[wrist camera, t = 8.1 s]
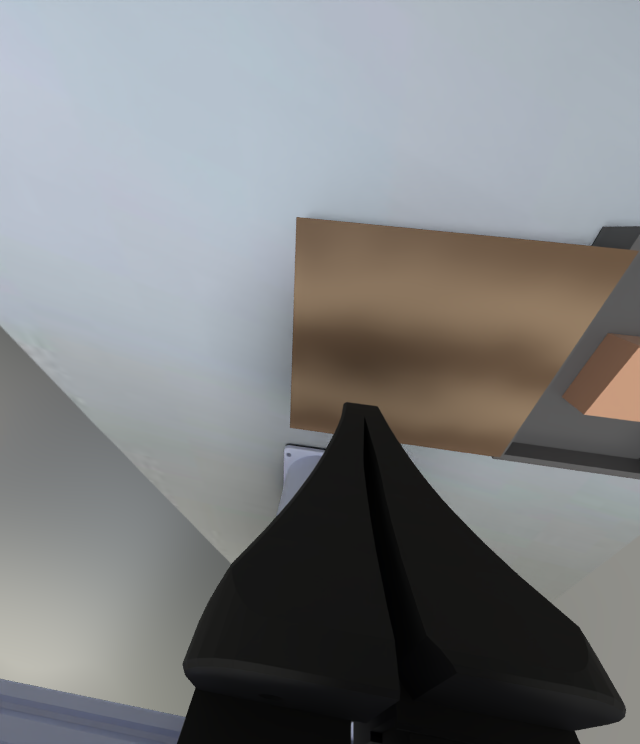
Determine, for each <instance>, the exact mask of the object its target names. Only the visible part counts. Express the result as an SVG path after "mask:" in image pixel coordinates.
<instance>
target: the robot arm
mask: <svg viewBox="0 0 640 744" xmlns="http://www.w3.org/2000/svg"><path fill="white" fill-rule="evenodd" d="M289 453H290V454H289ZM183 669H184V673H185V675H186V677H187V678H188V679H189V680H190V681H191V682H192V684H193V685H194V686H195V687H196V688H195V691H194V694H193V697H192V701H191V703H190V706H189V709H188V712H187V715H186V717H183V716H178V715H173V714H169V713H164V712H159V711H154V710H149V709H144V708H140V707H135V706H130V705H125V704H120V703H115V702H110V701H106V700H101V699H96V698H91V697H86V696H81V695H76V694H72V693H67V692H62V691H57V690H52V689H47V688H42V687H38V686H33V685H28V684H23V683H18V682H13V681H9V680H4V679H0V744H580V742H579V740H578V738H577V735H576V733H575V730H581V729H586V728H591V727H597V726H603V725H608V724H612V723H615V722H619V721H620V720H622V719H623V718H624V717H625V713H626V709H625V705H624V703H623V701H622V699H621V697H620V696H619V694H618V692H617V691H616V689H615V687H614V685H613V683H612V682H611V680H610V678H609V677H608V675H607V673H606V671H605V670H604V668H603V666H602V664H601V663H600V661H599V659H598V657H597V656H596V654H595V652H594V651H593V649H592V647H591V646H590V644H589V642H588V641H587V639H586V637H585V636H584V634H583V633H582V631H581V629H580V628H579V627H578V626H577V625H576V624H575V623H574V622H573V621H571V620H570V619H569V618H568V617H567V616H565V615H564V614H563V613H562V612H561V611H560V610H559V609H557V608H556V607H555V606H554V605H553V604H552V603H550V602H549V601H548V600H547V599H546V598H545V597H543V596H542V595H541V594H540V593H539V592H538V591H536V590H535V589H534V588H533V587H532V586H531V585H529V584H528V583H527V582H526V581H525V580H524V579H522V578H521V577H520V576H519V575H518V574H517V573H516V572H515V571H514V570H512V569H511V568H510V567H509V566H508V565H507V564H506V563H505V562H504V561H503V560H502V559H501V558H500V557H499V556H497V555H496V554H495V553H494V552H493V551H492V550H491V549H490V548H489V547H488V546H487V545H486V544H485V543H484V542H483V541H482V540H481V539H480V538H479V537H478V536H477V535H476V534H475V533H474V532H473V531H472V530H471V529H470V528H469V527H468V526H467V525H466V524H465V523H464V522H463V521H462V520H461V519H460V518H459V517H458V516H457V515H456V514H455V513H454V512H453V511H452V510H451V508H450V507H449V506H448V505H447V504H446V503H445V502H444V501H443V500H442V499H441V497H440V496H439V495H438V494H437V493H436V491H435V490H434V489H433V488H432V487H431V485H430V484H429V483H428V482H427V480H426V479H425V478H424V477H423V475H422V474H421V473H420V471H419V470H418V469H417V467H416V466H415V465H414V463H413V462H412V461H411V459H410V458H409V456H408V455H407V453H406V452H405V451H404V449H403V447H402V446H401V444H400V443H399V441H398V440H397V438H396V437H395V435H394V433H393V432H392V430H391V428H390V427H389V425H388V423H387V422H386V420H385V418H384V416H383V414H382V413H381V411H380V409H379V408H378V406H373V405H365V404H358V403H350V402H346V403H344V404H343V409H342V415H341V418H340V421H339V424H338V426H337V428H336V430H335V433H334V435H333V437H332V439H331V441H330V443H329V444H328V446H327V448H326V450H320V449H313V448H306V447H299V446H292V445H287V446H285V449H284V488H283V492H282V496H281V499H280V503H279V507H278V511H277V515H276V518H275V519H274V520H273V521H272V522H271V523H270V525H269V526H268V527H267V528H266V529H265V530H264V531H263V532H262V533H261V534H260V535H259V536H258V537H257V538H256V539H255V540H254V541H253V542H252V543H251V544H250V545H249V546H248V547H247V548H246V550H245V551H244V552H243V553H242V554H241V555H240V556H239V557H238V558H237V559H236V560H235V561H234V562H233V563H232V564H231V565H230V567H229V569H228V570H227V572H226V573H225V575H224V577H223V578H222V580H221V581H220V583H219V585H218V586H217V588H216V590H215V592H214V593H213V595H212V597H211V598H210V600H209V602H208V604H207V606H206V608H205V610H204V612H203V614H202V617H201V619H200V620H199V623H198V625H197V628H196V630H195V633H194V636H193V639H192V641H191V643H190V646H189V648H188V651H187V654H186V656H185V659H184V661H183Z"/></svg>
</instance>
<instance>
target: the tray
mask: <svg viewBox="0 0 640 744" xmlns="http://www.w3.org/2000/svg"><path fill="white" fill-rule="evenodd" d="M592 246H596V247H606V248H616V249H627V250H637V251H639V252H638V254H637V255H636V257H635V258H634V259H633V261H632V262H631V264H630V265H629V267H628V268H627V270H626V271H625V273H624V274H623V276H622V277H621V279H620V280H619V282H618V283H617V285H616V286H615V288H614V289H613V291H612V292H611V294H610V295H609V297H608V298H607V299H606V301H605V302H604V304H603V305H602V307H601V308H600V310H599V311H598V313H597V314H596V316H595V317H594V319H593V320H592V322H591V323H590V325H589V326H588V328H587V329H586V331H585V332H584V334H583V335H582V337H581V338H580V339H579V341H578V342H577V344H576V345H575V347H574V348H573V350H572V351H571V353H570V354H569V356H568V357H567V359H566V360H565V362H564V363H563V365H562V366H561V368H560V369H559V371H558V372H557V374H556V375H555V376H554V378H553V379H552V381H551V382H550V384H549V385H548V387H547V388H546V390H545V391H544V393H543V394H542V396H541V397H540V399H539V400H538V402H537V403H536V405H535V406H534V408H533V409H532V411H531V412H530V414H529V415H528V416H527V418H526V419H525V421H524V422H523V424H522V425H521V427H520V428H519V430H518V431H517V433H516V434H515V436H514V437H513V439H512V440H511V442H510V443H509V445H508V446H507V448H506V449H505V451H504V452H503V454H502V455H501V456H500V457H493V456H492V458H493V459H500V460H507V461H514V462H521V463H528V464H535V465H542V466H549V467H556V468H563V469H570V470H577V471H584V472H591V473H598V474H605V475H612V476H619V477H626V478H633V479H640V422H637V421H629V420H622V419H614V418H606V417H598V416H591V415H584V414H583V413H581V412H580V411H579V410H577V409H576V408H575V407H574V406H572V405H571V404H570V403H569V402H567V401H566V400H565V399H564V398H562V396H563V394H564V393H565V392H566V390H567V389H568V388H569V386H570V385H571V383H572V382H573V381H574V379H575V378H576V377H577V375H578V374H579V372H580V371H581V370H582V368H583V367H584V366H585V364H586V363H587V361H588V360H589V359H590V357H591V356H592V355H593V353H594V352H595V350H596V349H597V348H598V346H599V345H600V344H601V342H602V341H603V339H604V338H605V337H606V335H607V334H608V333H612V334H621V335H630V336H638V337H640V226H634V227H603V228H602V230H601V231H600V233H599V235H598V237H597V238H596V240H595V242H594V243H593V245H592Z"/></svg>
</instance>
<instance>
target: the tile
mask: <svg viewBox="0 0 640 744" xmlns="http://www.w3.org/2000/svg"><path fill="white" fill-rule="evenodd" d="M562 398H564V399H565V400H566V401H567V402H569V403H570V404H571V405H572V406H574V407H575V408H576V409H577V410H579V411H580V412H581V413H583V414H584V415H591V416H598V417H606V418H614V419H622V420H629V421H637V422H640V337H638V336H630V335H621V334H612V333H608V334H607V335H606V337H605V338H604V339H603V341H602V342H601V344H600V345H599V346H598V348H597V349H596V350H595V352H594V353H593V355H592V356H591V357H590V359H589V360H588V361H587V363H586V364H585V366H584V367H583V368H582V370H581V371H580V372H579V374H578V375H577V377H576V378H575V379H574V381H573V382H572V383H571V385H570V386H569V388H568V389H567V390H566V392H565V393H564V394H563V396H562Z"/></svg>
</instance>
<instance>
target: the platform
mask: <svg viewBox="0 0 640 744" xmlns="http://www.w3.org/2000/svg"><path fill="white" fill-rule="evenodd" d="M638 252H639V251H637V250H627V249H616V248H606V247H596V246H586V245H576V244H565V243H555V242H545V241H535V240H525V239H514V238H504V237H494V236H484V235H474V234H463V233H453V232H443V231H433V230H423V229H412V228H402V227H392V226H382V225H372V224H361V223H351V222H341V221H331V220H321V219H310V218H300V217H297V220H296V252H295V284H294V317H293V349H292V381H291V413H290V428H296V429H303V430H310V431H317V432H324V433H331V434H334V433H335V430H336V428H337V426H338V424H339V421H340V418H341V415H342V409H343V404H344V403H346V402H350V403H358V404H365V405H373V406H378V408H379V409H380V411H381V413H382V414H383V416H384V418H385V420H386V422H387V423H388V425H389V427H390V428H391V430H392V432H393V433H394V435H395V437H396V438H397V440H398V441H399V443H402V444H409V445H416V446H423V447H430V448H437V449H444V450H451V451H458V452H465V453H472V454H479V455H486V456H493V457H500V456H501V455H502V454H503V452H504V451H505V449H506V448H507V446H508V445H509V443H510V442H511V440H512V439H513V437H514V436H515V434H516V433H517V431H518V430H519V428H520V427H521V425H522V424H523V422H524V421H525V419H526V418H527V416H528V415H529V414H530V412H531V411H532V409H533V408H534V406H535V405H536V403H537V402H538V400H539V399H540V397H541V396H542V394H543V393H544V391H545V390H546V388H547V387H548V385H549V384H550V382H551V381H552V379H553V378H554V376H555V375H556V374H557V372H558V371H559V369H560V368H561V366H562V365H563V363H564V362H565V360H566V359H567V357H568V356H569V354H570V353H571V351H572V350H573V348H574V347H575V345H576V344H577V342H578V341H579V339H580V338H581V337H582V335H583V334H584V332H585V331H586V329H587V328H588V326H589V325H590V323H591V322H592V320H593V319H594V317H595V316H596V314H597V313H598V311H599V310H600V308H601V307H602V305H603V304H604V302H605V301H606V299H607V298H608V297H609V295H610V294H611V292H612V291H613V289H614V288H615V286H616V285H617V283H618V282H619V280H620V279H621V277H622V276H623V274H624V273H625V271H626V270H627V268H628V267H629V265H630V264H631V262H632V261H633V259H634V258H635V257H636V255H637V254H638Z"/></svg>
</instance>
